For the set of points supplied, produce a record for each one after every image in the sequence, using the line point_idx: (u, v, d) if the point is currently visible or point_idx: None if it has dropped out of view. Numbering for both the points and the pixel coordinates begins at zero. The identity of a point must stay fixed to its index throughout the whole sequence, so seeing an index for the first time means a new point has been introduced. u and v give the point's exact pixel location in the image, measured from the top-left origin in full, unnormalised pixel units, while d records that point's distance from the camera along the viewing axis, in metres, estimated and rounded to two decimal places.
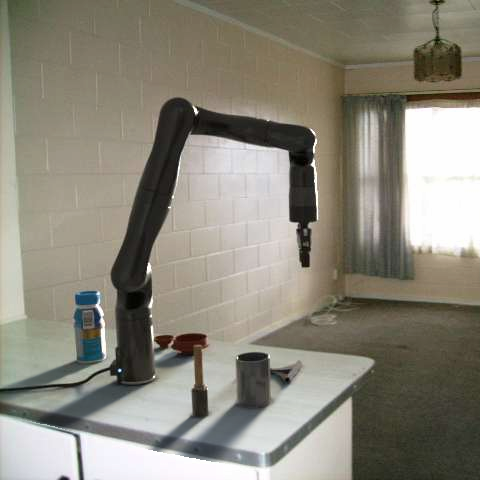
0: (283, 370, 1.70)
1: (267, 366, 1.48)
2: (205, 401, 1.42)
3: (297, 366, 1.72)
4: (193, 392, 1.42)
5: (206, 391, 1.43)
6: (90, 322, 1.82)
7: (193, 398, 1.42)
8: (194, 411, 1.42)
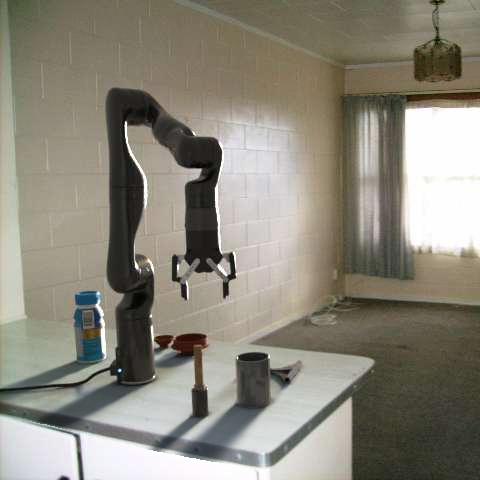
0: (283, 370, 1.70)
1: (267, 366, 1.48)
2: (205, 401, 1.42)
3: (297, 366, 1.72)
4: (193, 392, 1.42)
5: (206, 391, 1.43)
6: (90, 322, 1.82)
7: (193, 398, 1.42)
8: (194, 411, 1.42)
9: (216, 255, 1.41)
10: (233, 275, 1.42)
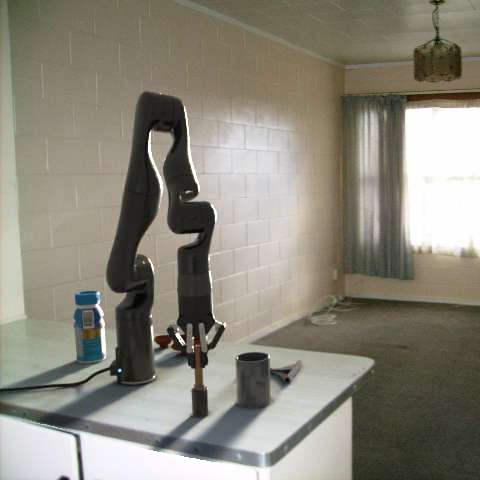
0: (283, 370, 1.70)
1: (267, 366, 1.48)
2: (205, 401, 1.43)
3: (297, 366, 1.72)
4: (193, 392, 1.42)
5: (206, 391, 1.43)
6: (90, 322, 1.82)
7: (193, 398, 1.42)
8: (194, 411, 1.42)
9: (208, 319, 1.40)
10: (212, 345, 1.41)
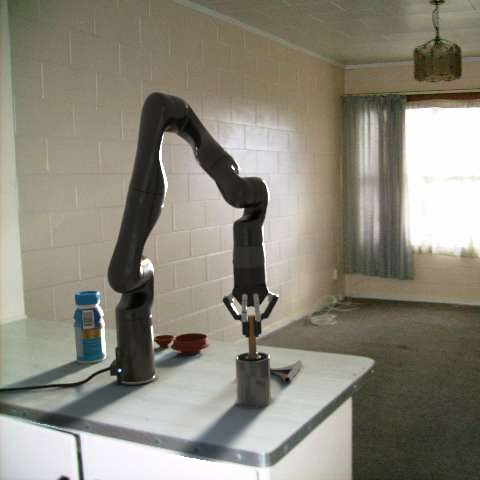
0: (283, 370, 1.70)
1: (267, 366, 1.48)
2: None
3: (297, 366, 1.72)
4: (247, 360, 1.48)
5: (259, 359, 1.49)
6: (90, 322, 1.82)
7: None
8: None
9: (262, 290, 1.47)
10: (266, 315, 1.47)
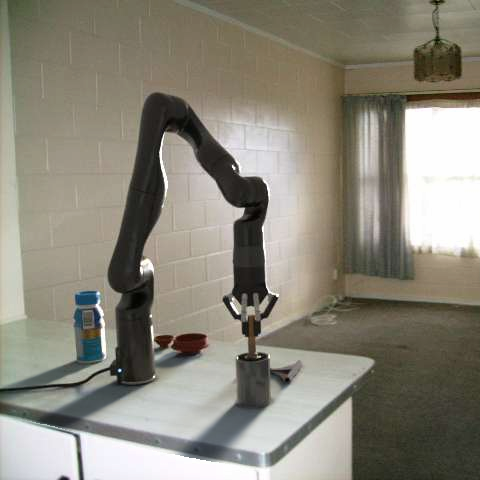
0: (283, 370, 1.70)
1: (267, 366, 1.48)
2: None
3: (297, 366, 1.72)
4: (247, 360, 1.48)
5: (259, 359, 1.49)
6: (90, 322, 1.82)
7: None
8: None
9: (262, 290, 1.47)
10: (265, 314, 1.47)
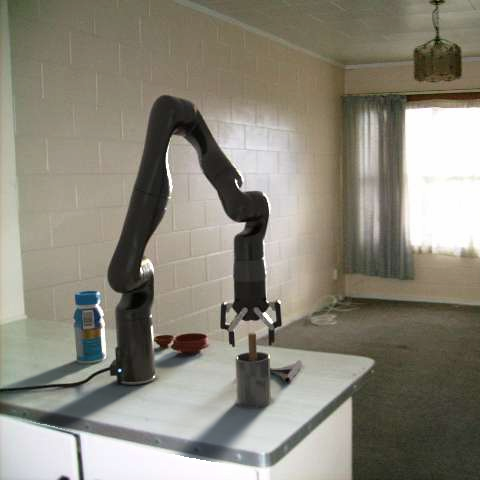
0: (283, 370, 1.70)
1: (267, 366, 1.48)
2: None
3: (297, 366, 1.72)
4: None
5: None
6: (90, 322, 1.82)
7: None
8: None
9: (263, 304, 1.47)
10: (278, 323, 1.48)
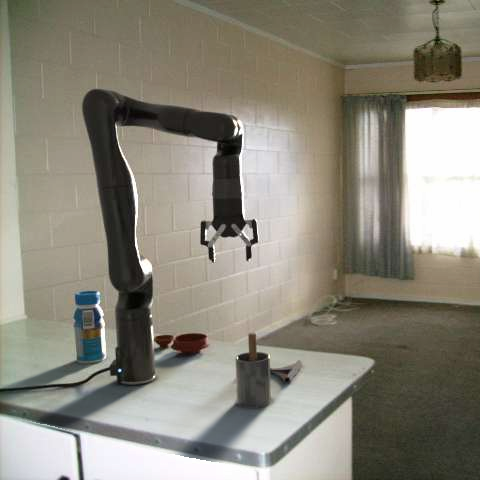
0: (283, 370, 1.70)
1: (267, 366, 1.48)
2: None
3: (297, 366, 1.72)
4: None
5: None
6: (90, 322, 1.82)
7: None
8: None
9: (240, 221, 1.56)
10: (255, 240, 1.57)
